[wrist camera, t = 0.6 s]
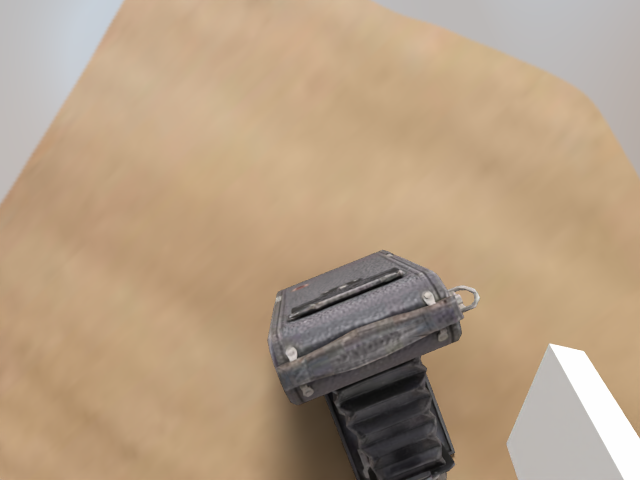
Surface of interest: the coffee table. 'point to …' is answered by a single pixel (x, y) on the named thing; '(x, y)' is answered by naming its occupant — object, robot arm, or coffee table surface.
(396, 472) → the camera
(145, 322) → the coffee table surface
